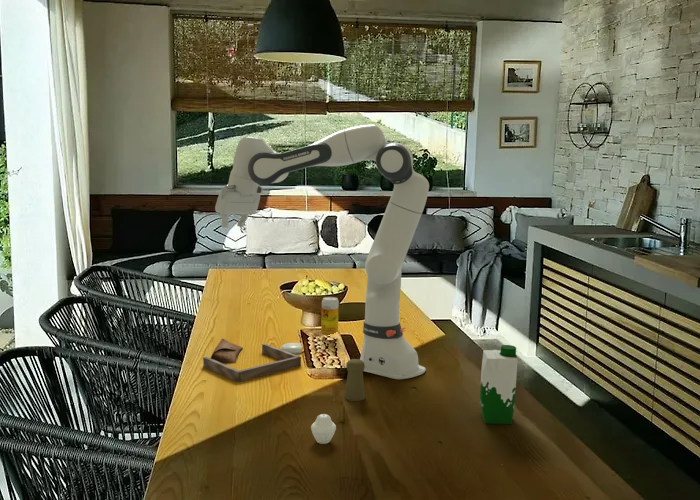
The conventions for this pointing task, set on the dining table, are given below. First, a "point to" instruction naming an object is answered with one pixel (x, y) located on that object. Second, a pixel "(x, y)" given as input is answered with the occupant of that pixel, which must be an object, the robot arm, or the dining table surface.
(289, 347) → the ring dish
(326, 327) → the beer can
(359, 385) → the pepper mill
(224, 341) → the sunglasses case
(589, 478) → the dining table surface
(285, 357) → the open wooden frame
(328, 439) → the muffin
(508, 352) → the milk carton
